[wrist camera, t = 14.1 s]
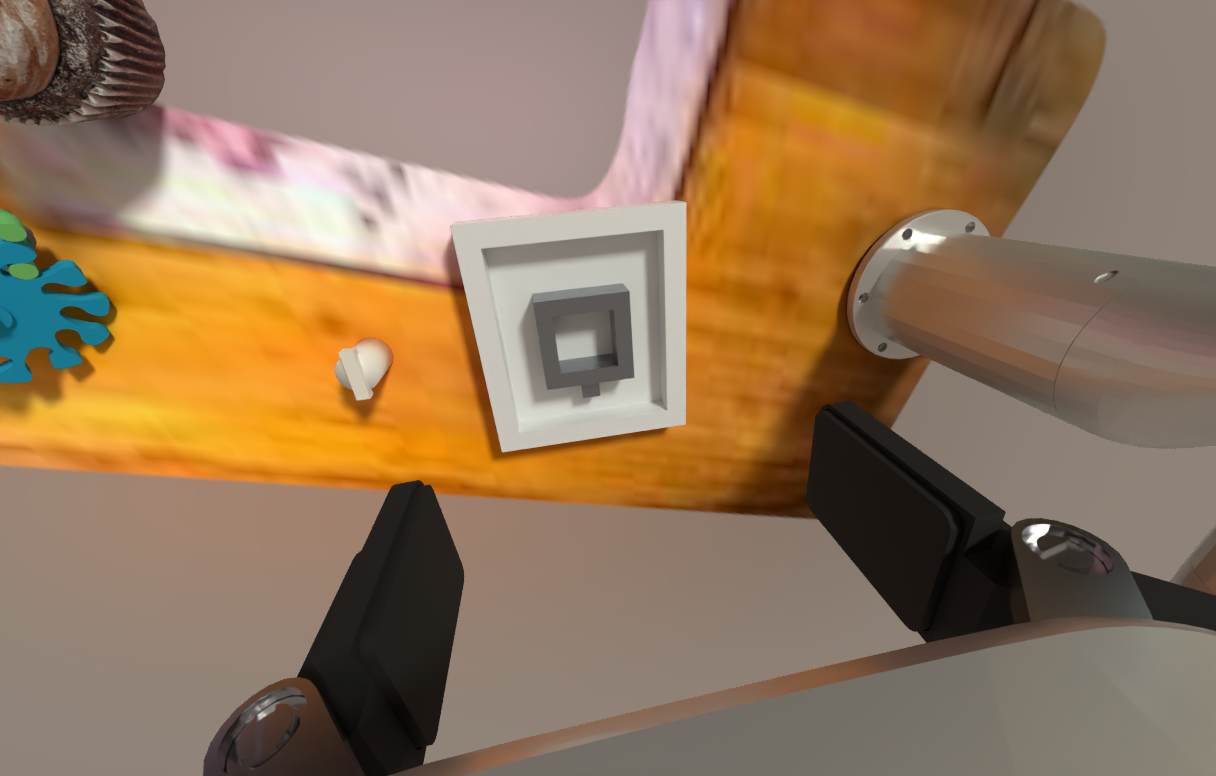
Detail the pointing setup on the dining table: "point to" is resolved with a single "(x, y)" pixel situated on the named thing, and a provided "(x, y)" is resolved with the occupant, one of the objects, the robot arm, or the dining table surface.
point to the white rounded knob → (363, 366)
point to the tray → (578, 317)
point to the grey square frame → (593, 367)
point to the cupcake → (77, 60)
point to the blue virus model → (39, 304)
